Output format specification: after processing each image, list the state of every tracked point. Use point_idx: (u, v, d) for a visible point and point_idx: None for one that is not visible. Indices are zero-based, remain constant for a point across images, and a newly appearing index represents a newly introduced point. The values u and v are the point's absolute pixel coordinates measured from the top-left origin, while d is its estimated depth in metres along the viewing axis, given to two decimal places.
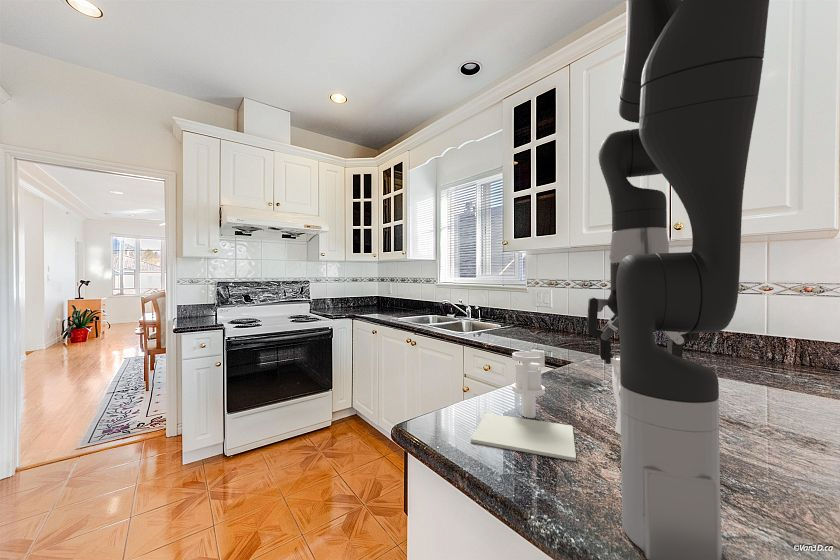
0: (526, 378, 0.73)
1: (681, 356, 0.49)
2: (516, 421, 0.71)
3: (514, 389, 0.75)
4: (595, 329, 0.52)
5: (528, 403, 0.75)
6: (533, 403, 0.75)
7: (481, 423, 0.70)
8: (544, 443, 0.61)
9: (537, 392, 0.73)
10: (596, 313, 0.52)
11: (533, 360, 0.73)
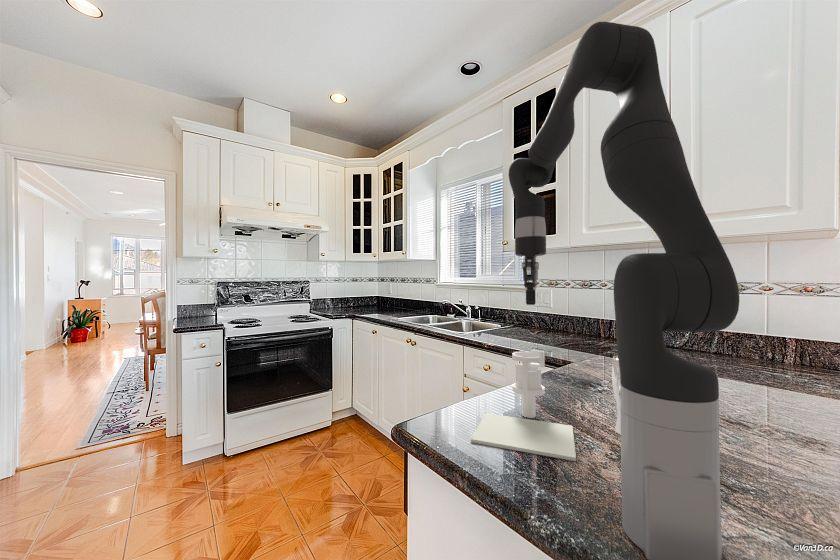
0: (526, 378, 0.73)
1: None
2: (516, 421, 0.71)
3: (514, 389, 0.75)
4: (535, 283, 0.82)
5: (528, 403, 0.75)
6: (533, 403, 0.75)
7: (481, 423, 0.70)
8: (544, 443, 0.61)
9: (537, 392, 0.73)
10: (534, 274, 0.81)
11: (533, 360, 0.73)
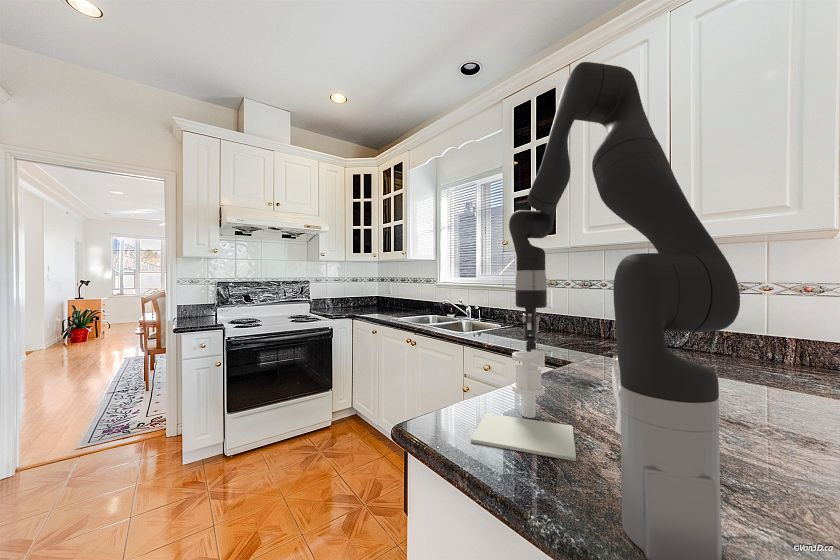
0: (526, 378, 0.73)
1: None
2: (516, 421, 0.71)
3: (514, 389, 0.75)
4: (535, 336, 0.82)
5: (528, 403, 0.75)
6: (533, 403, 0.75)
7: (481, 423, 0.70)
8: (544, 443, 0.61)
9: (537, 392, 0.73)
10: None
11: (533, 360, 0.73)
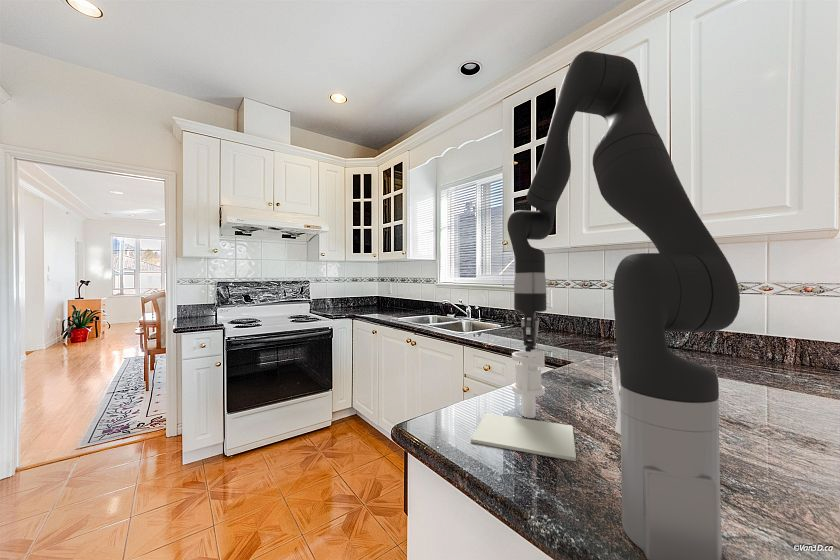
0: (526, 378, 0.73)
1: None
2: (516, 421, 0.71)
3: (514, 389, 0.75)
4: None
5: (528, 403, 0.75)
6: (533, 404, 0.75)
7: (481, 423, 0.70)
8: (544, 443, 0.61)
9: (537, 392, 0.73)
10: None
11: (533, 360, 0.73)
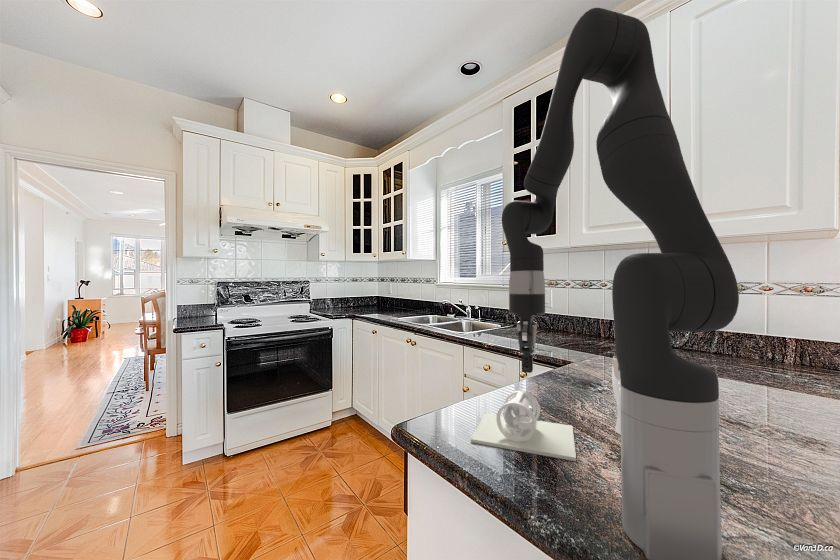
0: None
1: None
2: None
3: None
4: (532, 348, 0.70)
5: None
6: None
7: (481, 423, 0.70)
8: (544, 443, 0.61)
9: None
10: (531, 339, 0.69)
11: None
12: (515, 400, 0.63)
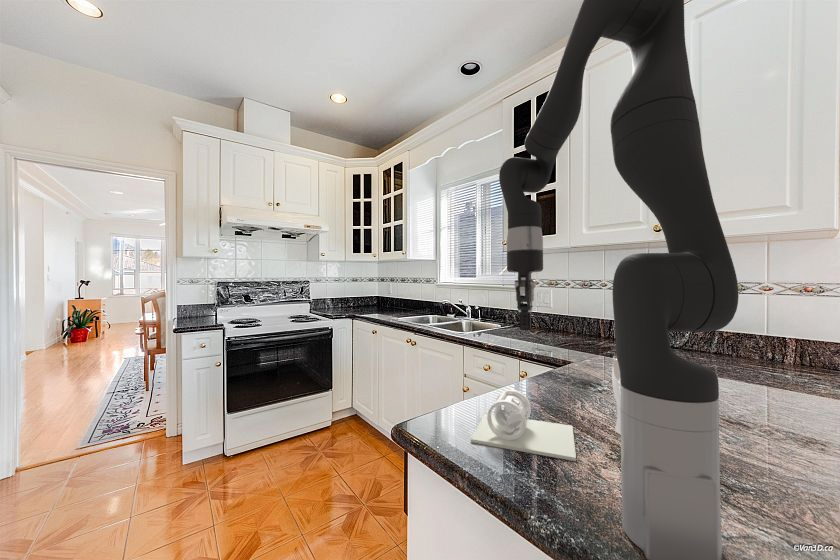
0: None
1: None
2: None
3: None
4: (530, 305, 0.70)
5: None
6: None
7: (481, 423, 0.70)
8: (544, 443, 0.61)
9: (529, 414, 0.68)
10: (529, 294, 0.68)
11: None
12: (497, 400, 0.65)
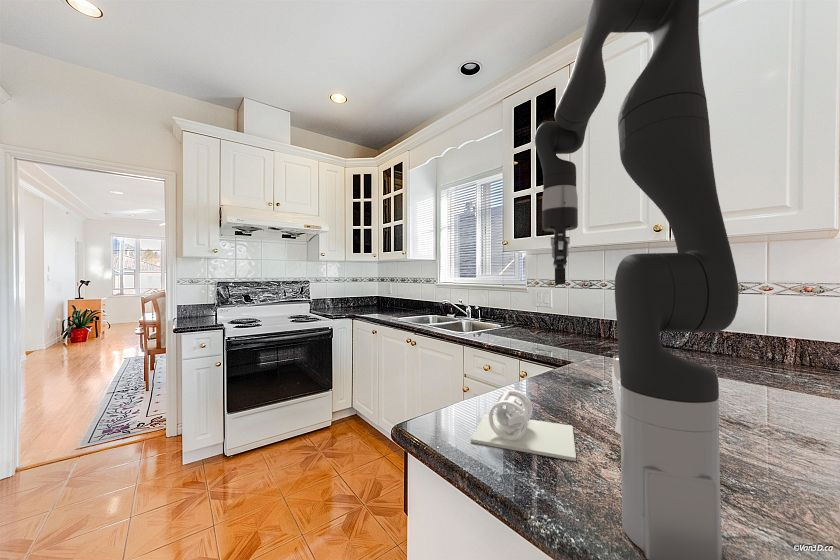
0: None
1: None
2: None
3: None
4: None
5: None
6: None
7: (481, 423, 0.70)
8: (544, 443, 0.61)
9: (530, 416, 0.68)
10: None
11: (523, 433, 0.62)
12: (500, 400, 0.65)
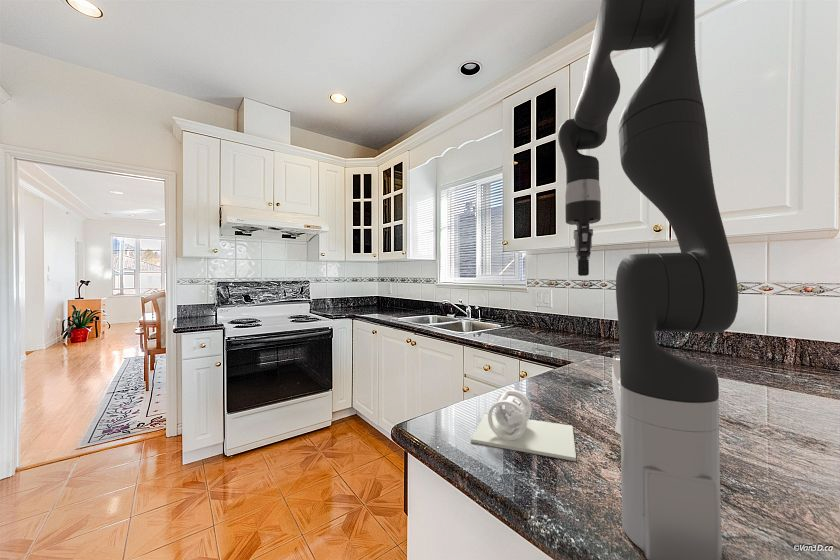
0: None
1: None
2: None
3: None
4: (589, 251, 0.76)
5: None
6: None
7: (481, 423, 0.70)
8: (544, 443, 0.61)
9: None
10: None
11: (523, 432, 0.62)
12: (498, 400, 0.65)
